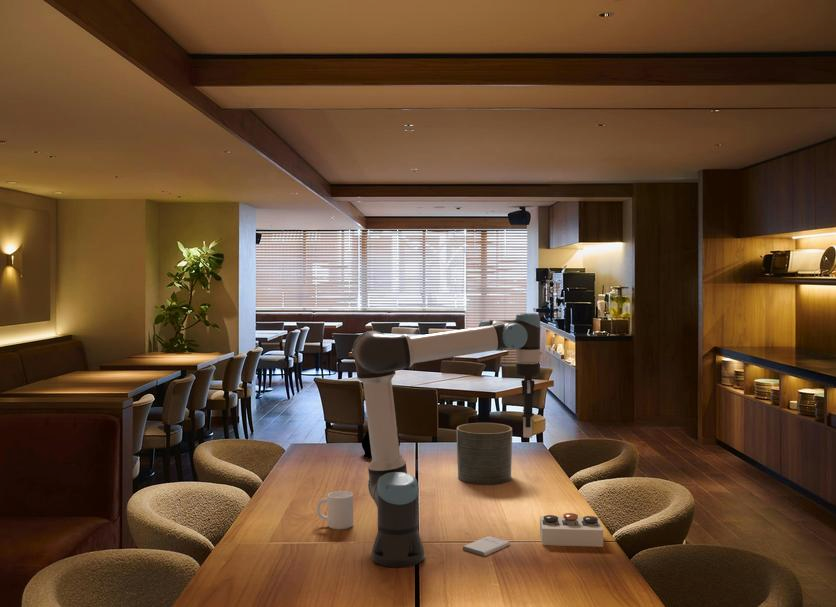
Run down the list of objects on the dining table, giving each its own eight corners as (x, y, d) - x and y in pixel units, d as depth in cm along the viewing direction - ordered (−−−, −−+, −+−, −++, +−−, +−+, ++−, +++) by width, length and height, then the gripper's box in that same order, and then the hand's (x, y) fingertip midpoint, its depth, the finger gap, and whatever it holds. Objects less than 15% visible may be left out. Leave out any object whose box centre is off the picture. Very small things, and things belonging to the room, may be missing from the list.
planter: (522, 481, 302) (522, 431, 301) (471, 487, 294) (471, 435, 293) (496, 468, 322) (496, 421, 322) (448, 474, 314) (447, 425, 314)
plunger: (598, 539, 233) (598, 520, 233) (584, 539, 233) (584, 520, 233) (596, 534, 237) (596, 516, 237) (582, 534, 238) (582, 515, 238)
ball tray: (597, 533, 241) (597, 517, 241) (603, 546, 229) (603, 530, 229) (539, 531, 243) (539, 516, 243) (542, 545, 231) (542, 528, 231)
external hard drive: (462, 551, 227) (487, 540, 237) (484, 557, 222) (509, 546, 231) (462, 545, 227) (487, 535, 237) (484, 552, 222) (509, 541, 231)
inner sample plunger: (558, 538, 234) (558, 519, 234) (544, 538, 234) (544, 519, 234) (557, 533, 238) (557, 515, 238) (543, 533, 239) (543, 514, 239)
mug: (313, 529, 247) (313, 497, 246) (320, 520, 255) (319, 490, 254) (350, 530, 245) (350, 498, 245) (355, 522, 253) (355, 491, 253)
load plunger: (578, 536, 233) (578, 517, 233) (564, 536, 234) (564, 517, 234) (577, 531, 238) (577, 513, 238) (562, 531, 238) (562, 512, 238)
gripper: (541, 364, 234) (541, 441, 235) (538, 360, 247) (538, 433, 248) (516, 364, 235) (516, 441, 236) (515, 360, 248) (515, 432, 249)
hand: (527, 436), depth 242 cm, fingers closed
